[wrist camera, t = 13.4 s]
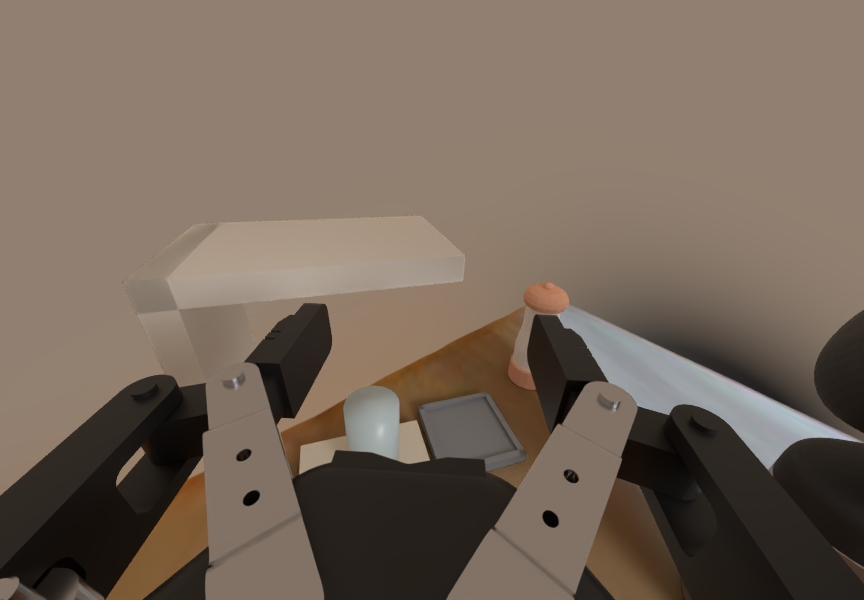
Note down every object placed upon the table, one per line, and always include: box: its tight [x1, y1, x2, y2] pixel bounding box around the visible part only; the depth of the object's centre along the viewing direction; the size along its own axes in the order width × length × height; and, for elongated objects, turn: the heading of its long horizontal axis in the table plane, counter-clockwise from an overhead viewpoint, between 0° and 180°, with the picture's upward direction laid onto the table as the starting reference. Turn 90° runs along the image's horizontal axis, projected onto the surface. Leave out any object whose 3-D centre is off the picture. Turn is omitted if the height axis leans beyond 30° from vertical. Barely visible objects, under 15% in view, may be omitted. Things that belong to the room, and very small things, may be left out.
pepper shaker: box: [508, 282, 569, 390], centre depth 55 cm, size 7×7×19 cm
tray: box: [418, 391, 526, 472], centre depth 47 cm, size 12×12×2 cm
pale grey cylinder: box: [343, 386, 399, 461], centre depth 37 cm, size 6×6×11 cm
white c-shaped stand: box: [122, 216, 466, 474], centre depth 32 cm, size 20×12×32 cm, turn 107°
